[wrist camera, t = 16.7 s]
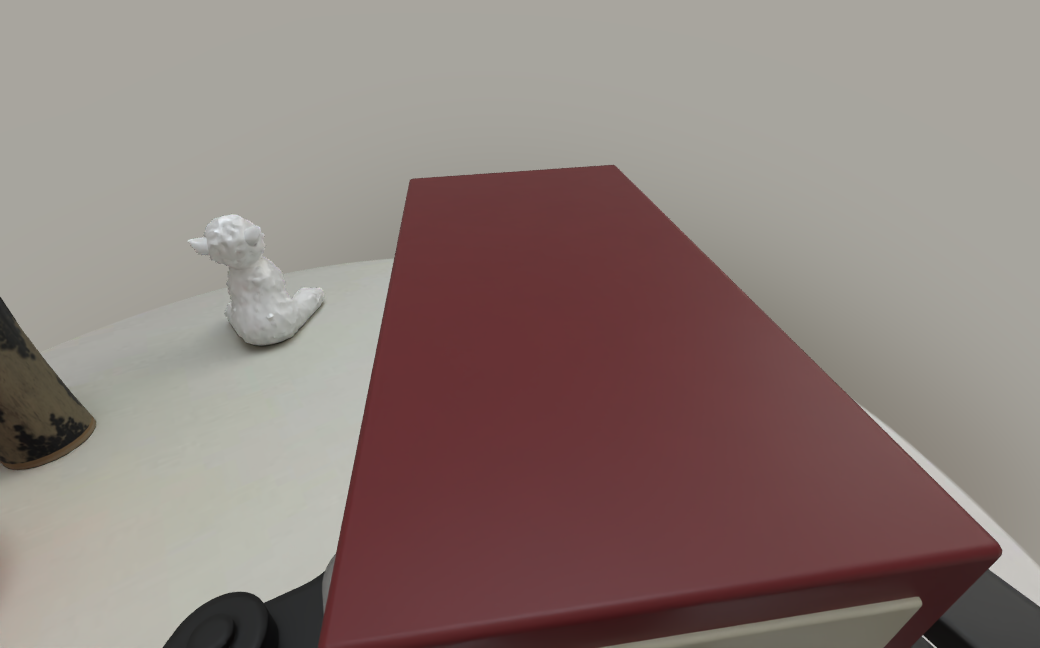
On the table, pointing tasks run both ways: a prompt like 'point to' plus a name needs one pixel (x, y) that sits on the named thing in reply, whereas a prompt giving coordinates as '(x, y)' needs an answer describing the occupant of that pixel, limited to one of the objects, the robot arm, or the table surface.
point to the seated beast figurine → (255, 283)
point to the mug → (34, 404)
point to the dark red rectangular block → (617, 449)
